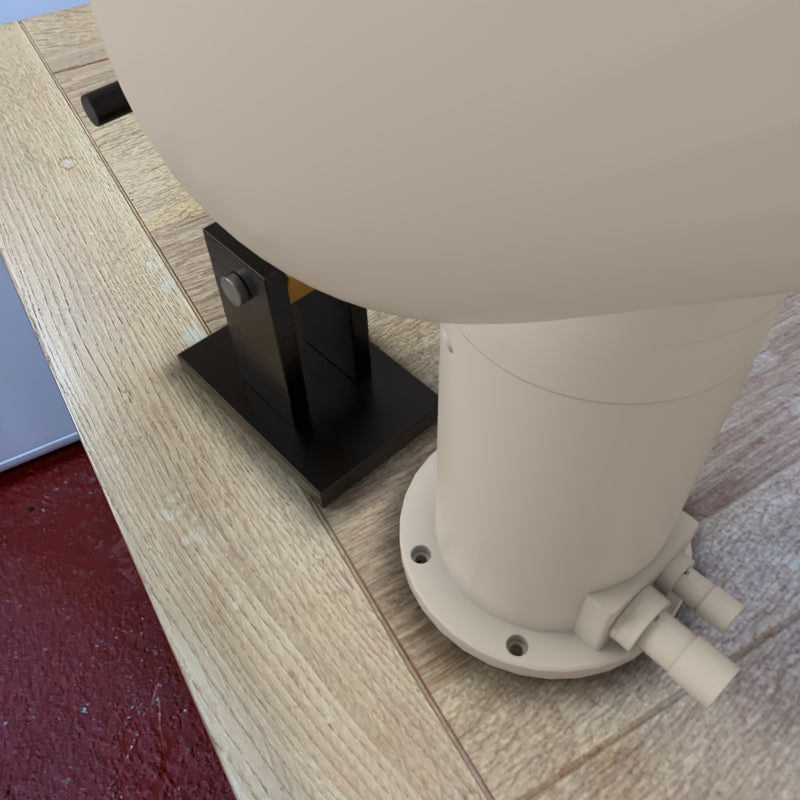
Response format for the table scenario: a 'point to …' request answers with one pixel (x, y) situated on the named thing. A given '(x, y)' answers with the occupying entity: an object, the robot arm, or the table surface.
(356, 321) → the bracket
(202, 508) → the table surface
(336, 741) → the table surface
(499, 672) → the table surface
